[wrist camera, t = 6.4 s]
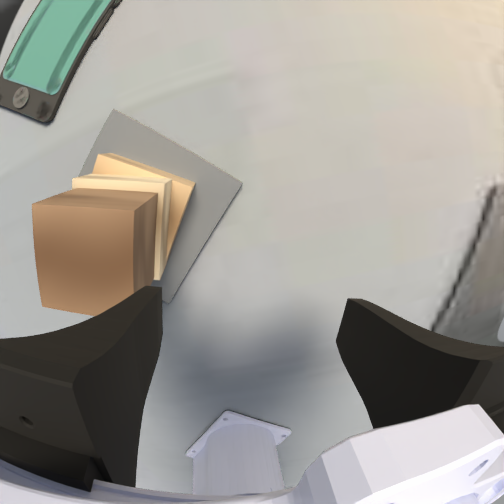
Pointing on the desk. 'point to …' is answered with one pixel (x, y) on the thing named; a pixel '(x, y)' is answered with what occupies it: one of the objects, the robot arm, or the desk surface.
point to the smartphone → (50, 54)
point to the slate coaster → (180, 164)
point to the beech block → (143, 185)
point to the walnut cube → (94, 247)
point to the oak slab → (128, 167)
